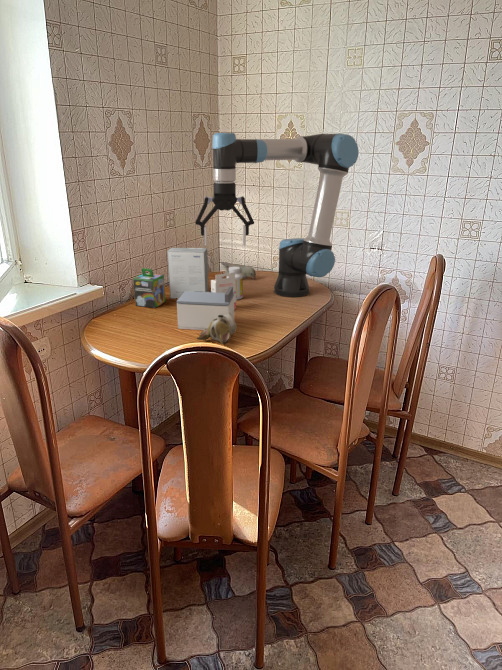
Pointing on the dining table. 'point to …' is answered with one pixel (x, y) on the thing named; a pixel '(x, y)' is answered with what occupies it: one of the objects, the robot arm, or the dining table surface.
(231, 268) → the supplement bottle
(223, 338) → the ceramic sculpture
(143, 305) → the chalk box
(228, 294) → the lid
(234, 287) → the ink cartridge box
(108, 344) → the dining table surface
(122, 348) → the dining table surface
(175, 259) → the hard drive box
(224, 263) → the decorative bird
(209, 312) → the box
